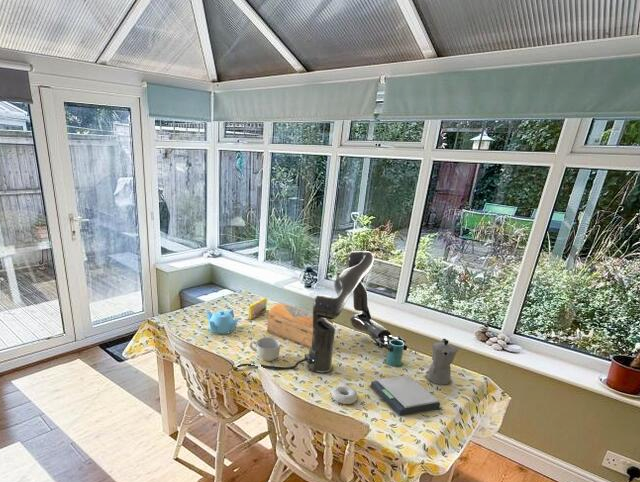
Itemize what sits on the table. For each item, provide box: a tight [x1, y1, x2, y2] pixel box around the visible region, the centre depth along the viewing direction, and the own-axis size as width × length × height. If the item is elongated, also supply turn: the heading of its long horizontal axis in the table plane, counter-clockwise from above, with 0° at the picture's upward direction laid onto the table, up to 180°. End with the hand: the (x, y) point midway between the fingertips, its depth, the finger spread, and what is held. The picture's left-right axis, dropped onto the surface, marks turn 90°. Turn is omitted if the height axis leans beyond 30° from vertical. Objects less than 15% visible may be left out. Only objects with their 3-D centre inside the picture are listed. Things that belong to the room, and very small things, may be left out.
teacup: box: [249, 336, 281, 362], centre depth 186 cm, size 14×11×8 cm
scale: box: [370, 374, 441, 416], centre depth 159 cm, size 17×20×3 cm
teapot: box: [205, 308, 239, 336], centre depth 213 cm, size 15×15×11 cm
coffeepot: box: [426, 338, 459, 385], centre depth 170 cm, size 15×9×18 cm, turn 159°
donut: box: [330, 385, 359, 405], centre depth 158 cm, size 10×3×10 cm
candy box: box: [248, 297, 268, 321], centre depth 233 cm, size 16×2×8 cm, turn 147°
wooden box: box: [266, 302, 334, 348], centre depth 207 cm, size 30×16×14 cm, turn 48°
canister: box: [385, 340, 406, 367], centre depth 183 cm, size 6×6×10 cm
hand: (399, 349), depth 180 cm, fingers closed on canister, 6 cm apart
